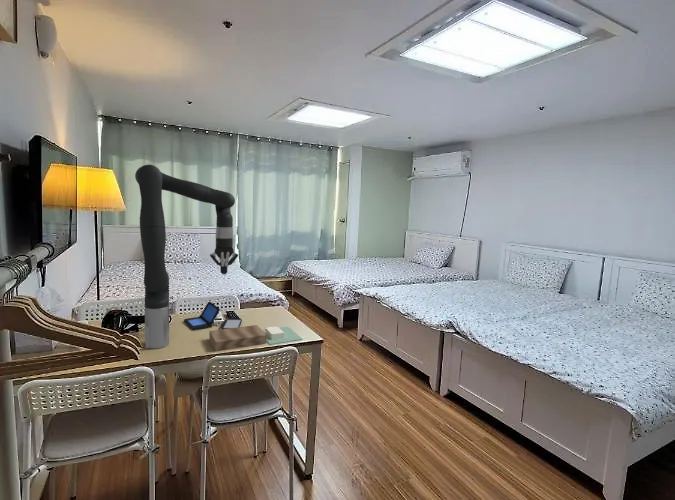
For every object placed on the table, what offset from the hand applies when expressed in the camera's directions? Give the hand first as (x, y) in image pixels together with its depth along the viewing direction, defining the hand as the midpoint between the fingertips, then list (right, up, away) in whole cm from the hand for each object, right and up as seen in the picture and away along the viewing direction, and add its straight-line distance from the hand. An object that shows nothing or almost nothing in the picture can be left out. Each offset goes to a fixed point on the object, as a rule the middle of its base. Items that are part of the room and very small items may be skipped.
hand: (223, 274), depth 169 cm
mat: (+25, -30, +7) cm, 39 cm away
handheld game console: (-16, -27, +16) cm, 35 cm away
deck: (+7, -30, -3) cm, 31 cm away
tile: (+22, -28, +5) cm, 36 cm away
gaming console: (-1, -28, +14) cm, 31 cm away
